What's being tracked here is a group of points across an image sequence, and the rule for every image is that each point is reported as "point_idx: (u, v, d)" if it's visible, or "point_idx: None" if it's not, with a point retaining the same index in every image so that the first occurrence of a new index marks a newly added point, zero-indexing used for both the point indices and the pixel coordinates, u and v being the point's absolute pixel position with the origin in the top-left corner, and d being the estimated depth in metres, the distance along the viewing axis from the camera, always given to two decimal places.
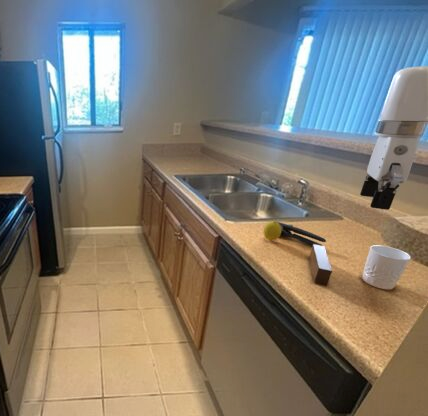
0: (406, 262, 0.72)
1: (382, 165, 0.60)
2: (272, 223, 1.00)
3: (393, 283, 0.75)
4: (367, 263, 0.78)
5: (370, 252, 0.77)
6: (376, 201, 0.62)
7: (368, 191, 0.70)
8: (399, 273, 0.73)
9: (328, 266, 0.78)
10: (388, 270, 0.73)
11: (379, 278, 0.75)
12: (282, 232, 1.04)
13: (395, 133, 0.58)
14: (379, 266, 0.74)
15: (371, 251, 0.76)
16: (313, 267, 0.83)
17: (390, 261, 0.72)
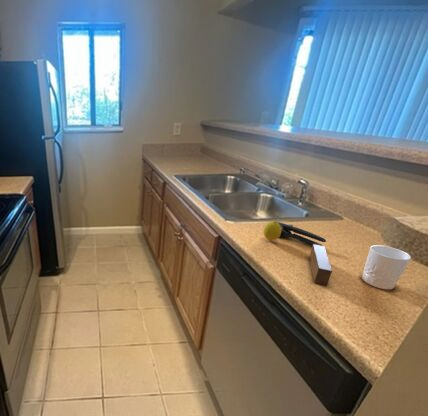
0: (406, 262, 0.72)
1: None
2: (272, 223, 1.00)
3: (393, 283, 0.75)
4: (367, 263, 0.78)
5: (370, 252, 0.77)
6: None
7: None
8: (399, 273, 0.73)
9: (328, 266, 0.78)
10: (388, 270, 0.73)
11: (379, 278, 0.75)
12: (282, 232, 1.04)
13: None
14: (379, 266, 0.74)
15: (371, 251, 0.76)
16: (313, 267, 0.83)
17: (390, 261, 0.72)
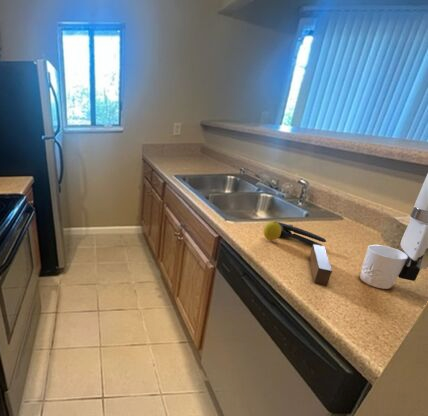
0: (403, 261, 0.72)
1: (418, 248, 0.68)
2: (272, 223, 1.00)
3: (390, 282, 0.75)
4: (365, 262, 0.78)
5: (368, 251, 0.77)
6: (403, 273, 0.74)
7: None
8: (396, 272, 0.73)
9: (328, 266, 0.78)
10: (385, 269, 0.74)
11: (376, 277, 0.76)
12: (282, 232, 1.04)
13: None
14: (376, 265, 0.75)
15: (369, 250, 0.77)
16: (313, 267, 0.83)
17: (388, 260, 0.73)
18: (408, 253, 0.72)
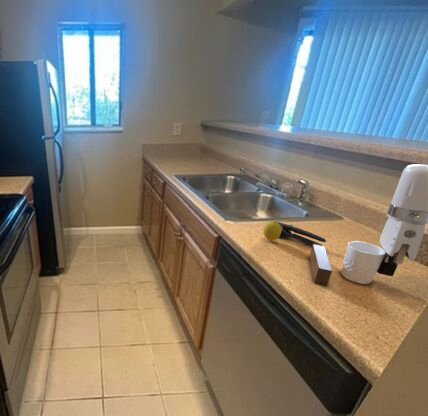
0: (381, 257, 0.74)
1: (394, 244, 0.70)
2: (272, 223, 1.00)
3: (369, 278, 0.77)
4: (345, 258, 0.80)
5: (348, 248, 0.79)
6: (382, 269, 0.76)
7: None
8: (375, 268, 0.75)
9: (328, 266, 0.78)
10: (364, 265, 0.76)
11: (356, 273, 0.78)
12: (282, 232, 1.04)
13: (405, 219, 0.69)
14: (356, 261, 0.77)
15: (348, 247, 0.79)
16: (313, 267, 0.83)
17: (366, 256, 0.75)
18: (385, 249, 0.74)
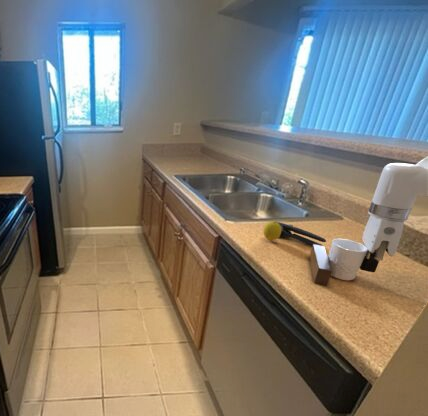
0: (363, 254, 0.76)
1: (374, 241, 0.72)
2: (272, 223, 1.00)
3: (353, 274, 0.79)
4: (330, 255, 0.82)
5: (332, 245, 0.81)
6: (364, 265, 0.78)
7: None
8: (358, 264, 0.77)
9: (328, 266, 0.78)
10: (348, 262, 0.77)
11: (340, 270, 0.79)
12: (282, 232, 1.04)
13: (384, 216, 0.70)
14: (340, 258, 0.78)
15: (333, 244, 0.80)
16: (313, 267, 0.83)
17: (349, 253, 0.76)
18: (367, 246, 0.76)
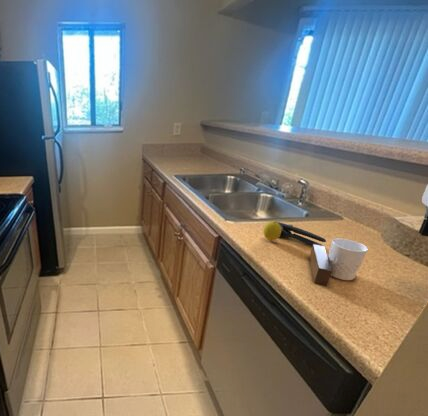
0: (363, 254, 0.76)
1: None
2: (272, 223, 1.00)
3: (352, 274, 0.79)
4: (329, 255, 0.82)
5: (332, 245, 0.81)
6: (426, 230, 0.69)
7: None
8: (357, 264, 0.77)
9: (328, 266, 0.78)
10: (347, 262, 0.77)
11: (340, 269, 0.79)
12: (282, 232, 1.04)
13: None
14: (339, 258, 0.78)
15: (332, 244, 0.80)
16: (313, 267, 0.83)
17: (349, 253, 0.76)
18: None
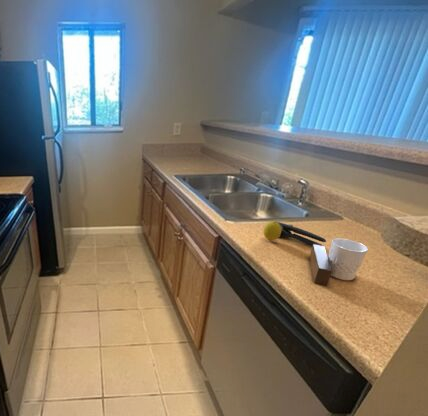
0: (363, 254, 0.76)
1: None
2: (272, 223, 1.00)
3: (352, 274, 0.79)
4: (329, 255, 0.82)
5: (332, 245, 0.81)
6: None
7: None
8: (357, 264, 0.77)
9: (328, 266, 0.78)
10: (347, 262, 0.77)
11: (340, 270, 0.79)
12: (282, 232, 1.04)
13: None
14: (340, 258, 0.78)
15: (332, 244, 0.80)
16: (313, 267, 0.83)
17: (349, 253, 0.76)
18: None
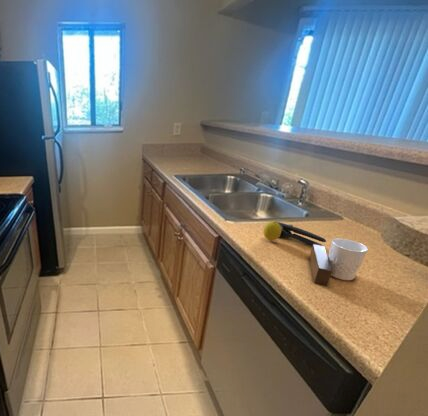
0: (363, 254, 0.76)
1: None
2: (272, 223, 1.00)
3: (352, 274, 0.79)
4: (329, 255, 0.82)
5: (332, 245, 0.81)
6: None
7: None
8: (357, 264, 0.77)
9: (328, 266, 0.78)
10: (347, 262, 0.77)
11: (340, 269, 0.79)
12: (282, 232, 1.04)
13: None
14: (339, 258, 0.78)
15: (332, 244, 0.80)
16: (313, 267, 0.83)
17: (349, 253, 0.76)
18: None
